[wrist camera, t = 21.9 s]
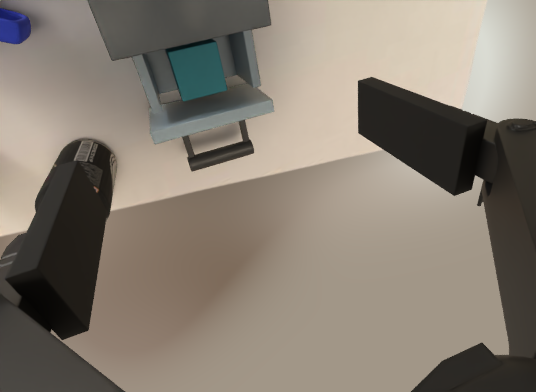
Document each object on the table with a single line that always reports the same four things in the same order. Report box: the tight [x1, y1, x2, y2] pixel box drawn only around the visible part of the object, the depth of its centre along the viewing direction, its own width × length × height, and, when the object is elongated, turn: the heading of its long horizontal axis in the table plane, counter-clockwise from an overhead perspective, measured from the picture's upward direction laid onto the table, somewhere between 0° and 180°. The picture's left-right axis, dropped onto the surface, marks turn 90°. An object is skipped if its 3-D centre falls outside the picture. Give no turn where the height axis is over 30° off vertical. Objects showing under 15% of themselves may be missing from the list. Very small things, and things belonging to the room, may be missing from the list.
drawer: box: [132, 30, 274, 171], centre depth 31 cm, size 19×12×8 cm, turn 10°
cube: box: [166, 39, 227, 101], centre depth 32 cm, size 4×4×4 cm
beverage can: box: [35, 140, 117, 221], centre depth 32 cm, size 6×6×12 cm
